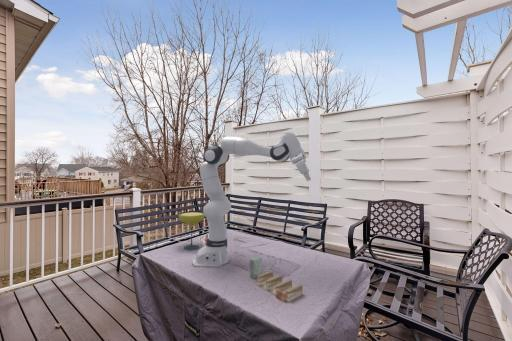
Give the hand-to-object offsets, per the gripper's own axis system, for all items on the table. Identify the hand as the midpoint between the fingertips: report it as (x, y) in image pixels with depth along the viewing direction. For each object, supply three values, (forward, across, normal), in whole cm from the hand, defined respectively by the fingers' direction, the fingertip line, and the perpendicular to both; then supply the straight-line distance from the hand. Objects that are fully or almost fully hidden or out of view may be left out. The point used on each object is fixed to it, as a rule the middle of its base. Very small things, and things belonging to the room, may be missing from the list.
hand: (309, 180), depth 141 cm
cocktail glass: (+9, -21, -98) cm, 101 cm away
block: (+35, +12, -48) cm, 61 cm away
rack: (+42, +22, -35) cm, 59 cm away
